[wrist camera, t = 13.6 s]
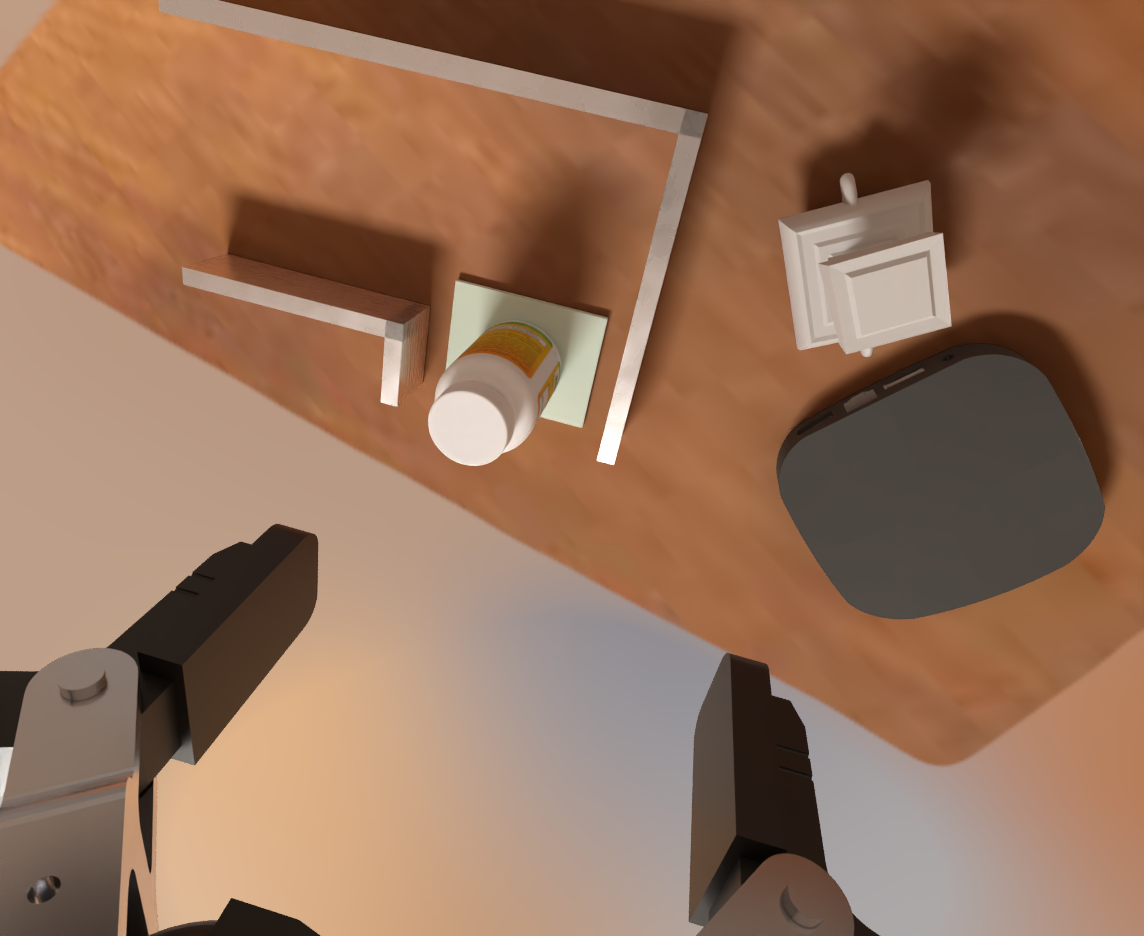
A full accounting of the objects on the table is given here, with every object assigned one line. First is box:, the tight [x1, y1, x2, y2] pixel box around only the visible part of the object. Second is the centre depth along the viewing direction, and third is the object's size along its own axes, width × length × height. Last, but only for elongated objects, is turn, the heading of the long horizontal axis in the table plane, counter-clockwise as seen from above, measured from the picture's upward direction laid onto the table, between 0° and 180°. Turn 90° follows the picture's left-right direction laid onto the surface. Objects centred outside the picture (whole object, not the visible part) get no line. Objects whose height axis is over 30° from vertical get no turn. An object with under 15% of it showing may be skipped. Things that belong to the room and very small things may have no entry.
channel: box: [159, 0, 708, 465], centre depth 36 cm, size 18×26×4 cm
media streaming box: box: [776, 343, 1105, 619], centre depth 39 cm, size 15×15×3 cm
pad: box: [446, 279, 608, 428], centre depth 40 cm, size 7×9×1 cm
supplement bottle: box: [428, 320, 561, 466], centre depth 36 cm, size 5×5×10 cm
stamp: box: [778, 173, 951, 357], centre depth 31 cm, size 9×7×8 cm
